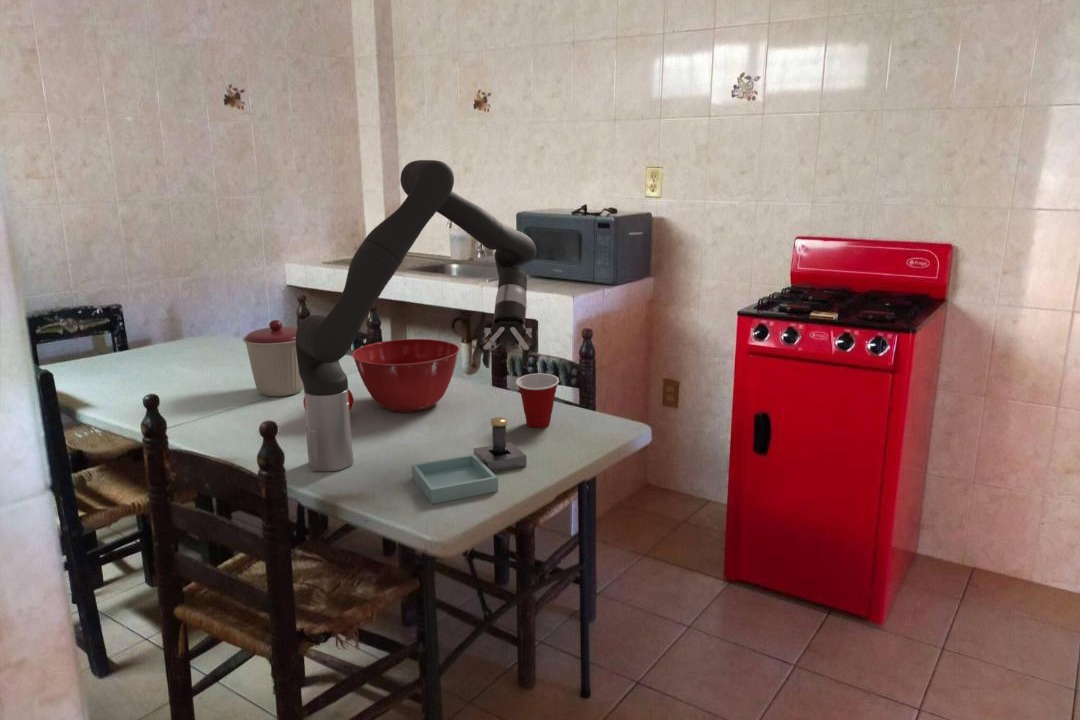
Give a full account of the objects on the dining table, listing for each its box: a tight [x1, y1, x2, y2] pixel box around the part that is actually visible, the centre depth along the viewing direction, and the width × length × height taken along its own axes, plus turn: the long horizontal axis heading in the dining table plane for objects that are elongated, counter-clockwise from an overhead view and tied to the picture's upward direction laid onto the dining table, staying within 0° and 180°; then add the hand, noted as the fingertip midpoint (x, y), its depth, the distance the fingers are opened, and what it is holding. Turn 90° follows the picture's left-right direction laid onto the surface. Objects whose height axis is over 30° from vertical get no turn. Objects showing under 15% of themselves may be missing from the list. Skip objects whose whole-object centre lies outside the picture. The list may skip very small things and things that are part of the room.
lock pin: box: [490, 416, 508, 457], centre depth 174 cm, size 4×4×10 cm
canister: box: [242, 319, 304, 397], centre depth 224 cm, size 18×18×21 cm
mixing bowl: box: [351, 338, 460, 413], centre depth 213 cm, size 28×28×16 cm
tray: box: [411, 453, 499, 505], centre depth 163 cm, size 14×14×3 cm
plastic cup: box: [515, 373, 560, 429], centre depth 197 cm, size 11×11×12 cm
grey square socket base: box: [473, 441, 527, 473], centre depth 175 cm, size 9×9×2 cm
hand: (505, 366), depth 181 cm, fingers open, 8 cm apart
